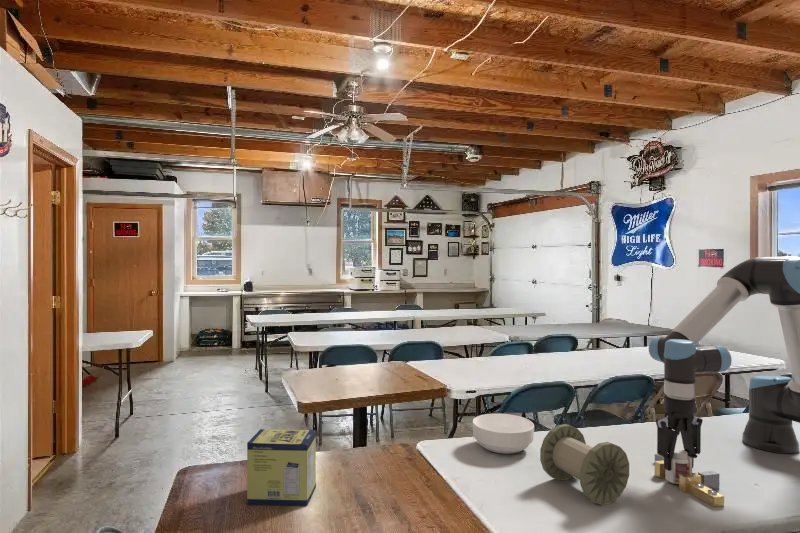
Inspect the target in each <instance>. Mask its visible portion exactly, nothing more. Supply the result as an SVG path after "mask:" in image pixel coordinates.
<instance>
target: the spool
mask: <svg viewBox="0 0 800 533" xmlns="http://www.w3.org/2000/svg"><path fill="white" fill-rule="evenodd" d="M539 450H540V451H539V454H540V455H539V457H540V458H539V459H540V460H539V462H540V464H541V466H542V470H543V471H544V472H545V473H546V474H547V475H548V476H549V477H550V478H552V479H555V480H558V481H566V480H569V479H571V478H576V479H577V480H579V484H580V487H581V490H582V494H584V495H585V496H586V498H587V500H589V501H591V502H592V503H594V504H597V505H600V506H604V505H607V504H612V503H614V502H615V501H616V500H617V499H619V498H620V497H621V495H622V494H623V492H624V490H625V489H626V487H627V485H628V481H629V477H630V461H629V458H628V455H627V453H626V451H625V450H623V448H622V447H621V446H619V445H618V444H615V443H612V442H609V441H605V442H600V443H597V444H596V445H594V446H590V445H588V444H587V442H586V440H585V436H584V434H583V432H581V431H580V430H579V429H578V428H577V427H575V426H573V425H570V424H567V423H564V424H558V425H556V426H554V427H553V428H552V429H550V430H549V431H548V433H547V434H546V436H544V438H543V440H542V443H541V446H540V449H539Z"/></svg>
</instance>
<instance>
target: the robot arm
mask: <svg viewBox="0 0 800 533" xmlns="http://www.w3.org/2000/svg"><path fill="white" fill-rule="evenodd" d="M757 294H758V295H760V294H761V295H763V294H764V295H768V297H769V302H770V304H771V305H772V306H774V307H776V308H777V310H778V315H779V320H780V324H781V328H782V334H783V339H784V343H785V348H786V349H785V350H786V355H787V358H788V364H789V369H790V373H791V377H789V376H785V375H784V376H782V375H756V376H752V377H750V379H749V384H748V420H747V423H746V424H745V427H744V431H743V432H742V442H743V443H744V444H746V445H748V446H750V447H752V448H755V449H757V450H758V449H759V450H762V451H766V452H770V453H778V454H797V453H798V452H799V451H800V443H799V441H798V438H797V435H796V432H795V430H794V427H793V422H795V423H799V424H800V256H797V255H796V256H795V255H793V256H757V257H753V258H749V259H746V260H744V261H742V262H740V263H738V264H736V265H735V266H734V267H732V268H730V269H729V270H728V271H726V272H725V273H724V274H722V276H721V277H720V278H719V279H718V280H717V281H716V286H715V288H713V289H712V290H711V291H710V293H709V294H707V295H706V297H705V298H704V299H702V301H700V302H699V303H698V304H697V305H696V307H694V309H692V310H691V311H690V312H689V313H688V314H687V315H686V316H685V317H684V318H683V319H682V320H681V321H680V322H679V323H678V324H677V325H676V326H674V328H673V329H672V330H671V331H670V332H669V333H668V334H667V335H666V336H665V337H664V336H661V337H660V336H657V337H654V338H653V339H652V340H650V342H649V344H648V354H649V355H650V357H651V358H652V359H653V360H655V361H657V362H660V363H663V364H664V366H663V367H664V368H663V369H664V370H663V372H664V373H663V374H664V375H663V376H664V381H663V394H665V395H664V396H663V408H664V410H665V413H664V416H663V418H661V419H659V418H656V419H655V425H656V427H657V428H656V429H657V432H656V434H657V436H656V438H657V439H656V442H657V444H656V449H657V450H656V454H659V455H661V456H663V457H664V469H666V471H665V478H664V479H665V480H666V481H668V482H669V483H671V484H675V459H673V455H674V450H675V449H676V444H677V440H678V436H679V435H680V436H681V441H682V446H683V450H684V451H686V452H687V459H688V461H689V473H693V468H694V461H695V460H694V459H697V458H698V455H700V454H701V450H702V449H701V446H702V445H701V444H702V443H701V442H702V441H701V440H702V438H701V436H702V434H701V432H702V431H701V430H702V424H703V419H702V418H700V417H698V416H695V415H694V413H695V412H696V399H695V397H696V374H697V375H698V374H699V375H700V374H701V375H702V374H717V373H721V372H726V371H727V370H729V368H730V367H731V365H732V355H731V353H730V351H729V350H728V349H727V348H726V347H725V346H723V345H717V344H716V345H714V344H710V345H705V344H700V342H701V340H702V339H704V338H705V337H706V335H708V334H709V332H711V331H712V329H713V328H714V327H716V325H718V323H720V321H722V319H723V318H724V317H725V316H726V315H727V314H728V313H729V312H730V311H732V309H734V308H735V306H736V305H737V304H738V303H739V302H745V301H747V299H748V298H750V296H754V295H757Z"/></svg>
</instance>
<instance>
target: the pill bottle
mask: <svg viewBox="0 0 800 533" xmlns="http://www.w3.org/2000/svg"><path fill="white" fill-rule="evenodd" d="M673 459H675V483H674V484H677V485H679V474H688V473H689V461H688V459H687V452H686V451H684V449H681V448H675V450H674V455H673Z"/></svg>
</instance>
